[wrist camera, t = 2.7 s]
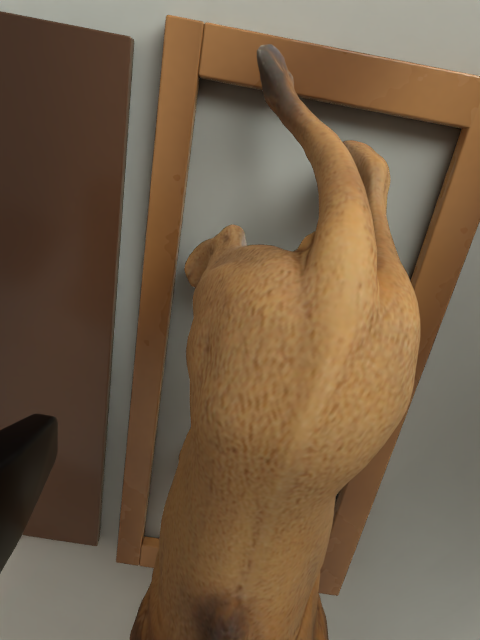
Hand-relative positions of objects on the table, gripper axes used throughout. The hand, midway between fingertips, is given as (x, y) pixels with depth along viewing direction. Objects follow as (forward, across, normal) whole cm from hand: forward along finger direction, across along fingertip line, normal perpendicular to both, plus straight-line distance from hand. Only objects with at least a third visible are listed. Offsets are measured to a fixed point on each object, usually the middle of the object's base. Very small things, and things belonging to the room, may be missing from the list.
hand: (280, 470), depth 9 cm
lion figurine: (+4, 0, 0) cm, 4 cm away
